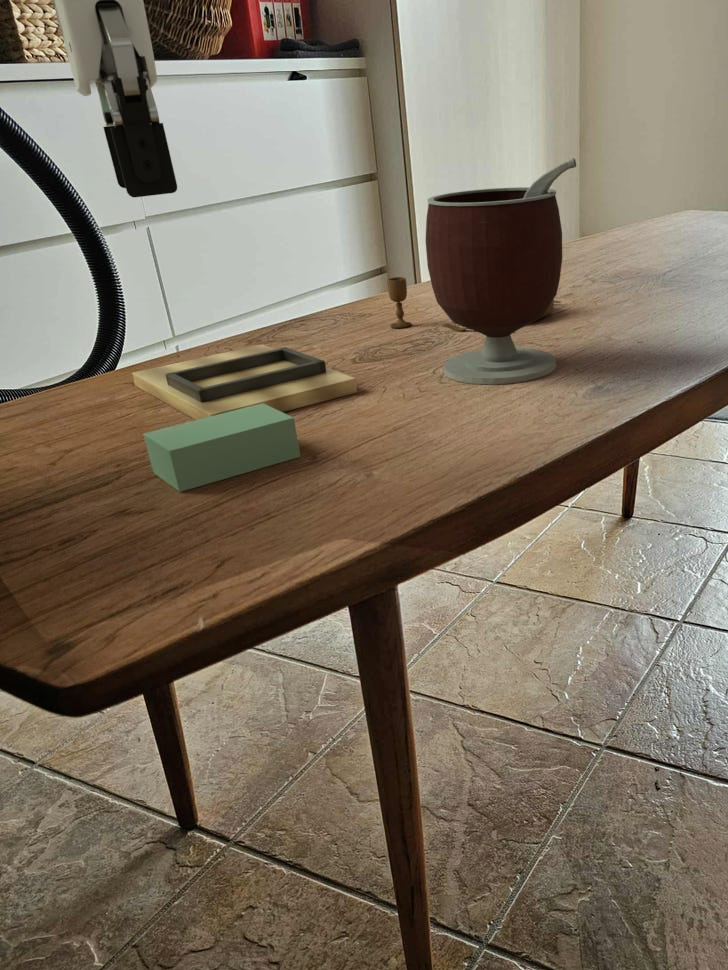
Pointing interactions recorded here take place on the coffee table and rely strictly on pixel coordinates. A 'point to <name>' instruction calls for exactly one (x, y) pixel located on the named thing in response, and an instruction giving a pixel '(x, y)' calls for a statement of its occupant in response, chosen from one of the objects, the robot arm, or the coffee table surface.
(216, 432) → the green rectangular block
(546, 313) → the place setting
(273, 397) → the wooden block holder
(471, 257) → the mate gourd
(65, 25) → the robot arm
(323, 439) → the coffee table surface
